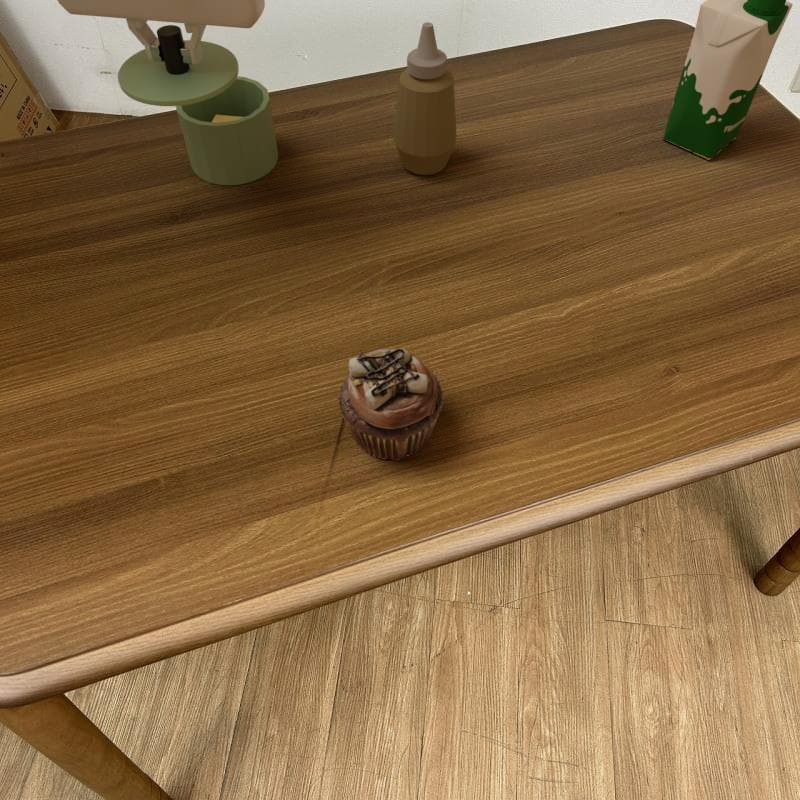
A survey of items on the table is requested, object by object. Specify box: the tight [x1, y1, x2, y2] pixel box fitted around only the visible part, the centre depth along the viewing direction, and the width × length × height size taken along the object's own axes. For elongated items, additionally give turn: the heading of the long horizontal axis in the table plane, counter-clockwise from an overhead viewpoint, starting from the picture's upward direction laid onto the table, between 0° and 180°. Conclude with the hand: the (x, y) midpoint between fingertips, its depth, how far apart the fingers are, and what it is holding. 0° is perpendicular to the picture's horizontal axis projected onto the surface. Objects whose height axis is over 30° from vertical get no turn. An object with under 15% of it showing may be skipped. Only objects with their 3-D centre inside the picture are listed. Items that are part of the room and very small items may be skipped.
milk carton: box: [662, 0, 794, 158], centre depth 93 cm, size 9×9×20 cm
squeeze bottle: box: [393, 21, 457, 176], centre depth 91 cm, size 8×8×18 cm
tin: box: [175, 75, 279, 186], centre depth 95 cm, size 11×11×8 cm
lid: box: [117, 24, 240, 107], centre depth 77 cm, size 12×12×5 cm
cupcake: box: [337, 348, 445, 461], centre depth 68 cm, size 10×10×10 cm
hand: (176, 60), depth 77 cm, fingers closed on lid, 2 cm apart
